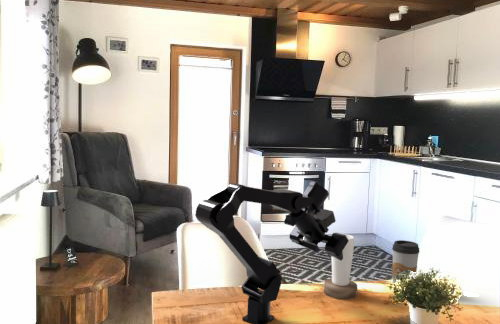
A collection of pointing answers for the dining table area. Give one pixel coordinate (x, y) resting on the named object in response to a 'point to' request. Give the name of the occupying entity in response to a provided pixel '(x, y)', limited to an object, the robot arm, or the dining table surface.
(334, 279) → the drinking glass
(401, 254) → the coffee cup
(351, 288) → the walnut stand
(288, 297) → the dining table surface
